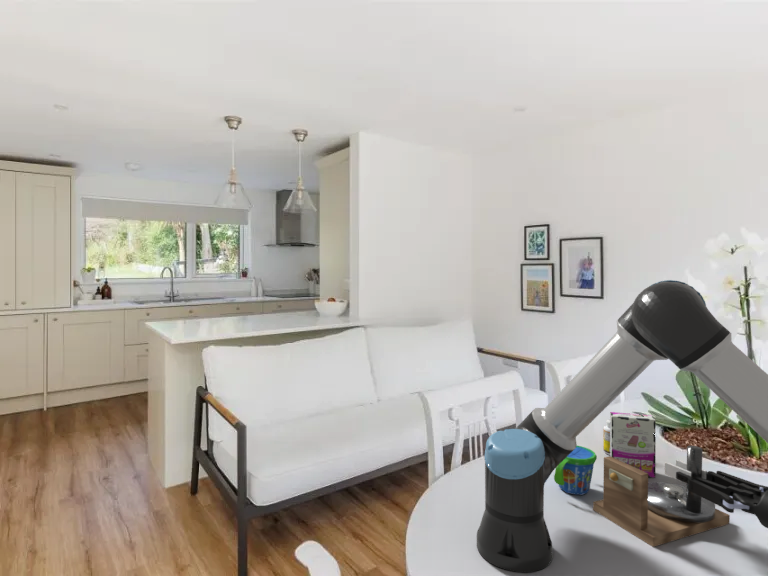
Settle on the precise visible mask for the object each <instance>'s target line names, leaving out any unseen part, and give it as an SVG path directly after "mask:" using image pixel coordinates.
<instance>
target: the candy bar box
mask: <svg viewBox="0 0 768 576" xmlns="http://www.w3.org/2000/svg"><path fill="white" fill-rule="evenodd" d="M639 414H640V413H628V412H627V413H626V412H615V411H610V413H609V418H610V419H609V420H610V455H609V456H611V457H613V458H615V459H618V460H620V461H622V462H624V463H626V464H628V465H631V466H633V467H635V468H637V469H639V470H642V471H644V472H646V473H648V478H656V466H657V465H656V444H657V443H656V441H657V440H656V439H657V438H656V437H657V436H656V437H655V435H654V434H655V433H656V428H657V427H656V425H657V424H656V419H655V417H654V416H653V415H651V414H642V415H643V416H644V417H642V416H641V415H639ZM653 433H654V434H653Z"/></svg>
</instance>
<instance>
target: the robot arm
mask: <svg viewBox="0 0 768 576" xmlns="http://www.w3.org/2000/svg"><path fill="white" fill-rule="evenodd" d="M616 326H617V327H616V329H617V331H616V333H615V334H613V335H612V337H611V338H609V340H608V341H607V342H606V343H605V344H604V345H603V346H602V347H600V349H599V350H598V351H597V352H596V353H595V354H594V355H593V356H592V358H591V359H590V360H589V361H588V362H587V363H586V364H585V365H584V366H583V367H582V368H581V369H580V370H579V372H577V374H576V375H575V376H573V378H572V379H571V380H570V381H569V382H568V383H567V384H566V385H565V386H564V387H563V388H562V389H561V391H559V393H557V394H556V396H555V397H553V398H552V400H551V401H550V402H549V403H548V404H547V405H546V406H545V407H535V408H533V410H532V411H531V412H530V413H529V414H528V415H527V416H525V418H524V419H523V420H522V421H521V422H520V423H519V424H518V425H517V426H516V427H515V428H506V429H504V430H498V431H495V432H494V433H492V434H490V436H488V438H487V440H486V443H485V451H484V485H485V486H484V489H485V490H484V499H485V501H484V502H485V505H484V507H485V508H484V511H483V515H482V517H481V521H480V525H479V527H478V529H477V532H476V549H477V551H478V552H479V554H480V556H481V557H482V558H483V559H485V560H486V561H487V562H489V563H490V564H492V565H494V566H495V567H498V568H501V569H504V570H506V571H510V572H517V573H533V572H537V571H541V570H543V569H544V568H547V567H548V566H549V565H550V564H551V563H552V561H553V542H552V539H551V536H550V532H549V530H548V525H547V523H546V520H545V517H544V507H545V506H544V503H545V502H544V501H545V497H544V496H545V494H544V493H545V488H544V487H545V483H546V482H547V481H548V479H549V478H550V476H551V475H552V473H553V471H554V470H556V467H557V466H558V465H559V464H560V463H561V462H562V461H563V460H564V459H565V458H566V457H567V456H568V455H569V454H570V453H571V452H572V451H573V450H574V449H575V448H576V446H578V445H577V444H578V443H577V438H576V437H577V436H579V435H580V433H582V432H583V431H584V430H585V429H586V428H587V426H589V425H590V424H591V423H592V422H593V421H594V420H595V419H596V418H597V417H598V416H599V415H601V413H602V412H604V410H605V409H607V408H608V406H609V405H610V404H612V402H614V400H615V399H616V398H617V397H618V396H619V395H620V394H622V393H623V392H624V391H625V390H626V389H627V388H628V387H629V385H630V384H632V383H633V382H634V381H635V380H636V379H637V378H638V377H639V376H640V375H641V374H642V373H643V372H644V371H646V369H647V368H648V367H649V366H650V365H651V364H652V363H653V362H654V361H667V360H670V362H672V364H674V365H675V366H676V367H677V368H678V369H679V370H680V371H686V372H690V373H693V375H695V376H696V377H697V379H699V380H700V381H701V382H702V383H703V384H704V385H705V386H706V387H707V388H708V389H710V390H711V392H713V394H715V395H716V397H718V398H719V399H720V400H721V401H722V402H724V404H726V406H728V407H729V408H730V409H731V410H732V411H733V412H734V413H735V414H736V415H737V416H738V417H739V418H740V419H742V420H743V421H744V422H745V423H746V424H747V425H748V426H749V427H750V428H751V429H752V430H753V431H754V432H755V433H756V434H758V435H759V437H761V439H762V440H764V441H765V442H766V443H767V444H768V373H767V372H766V371H764V369H762V368H761V367H760V366H759V365H758V364H757V363H755V362H754V361H753V360H752V359H751V358H750V357H748V355H746V353H744V352H743V351H742V350H741V349H740V348H739V347H738V346H737V345H735V344H734V343H733V341H732V332H731V331H729V329H727V328H726V327H725V326H724V325H723V324H722V323H721V322H719V320H718V319H716V317H715V316H714V315H713V313H712V312H710V310H709V309H708V307H707V304H706V301H705V299H704V297H703V296H702V294H701V293H700V292H699V291H698V290H697V289H695V287H693V286H691V285H690V284H688V283H686V282H683V281H680V280H672V279H668V280H660V281H658V282H655V283H653V284H651V285H649V286H647V287H646V288H644V289H643V290H642V291H641V292H639V294H638V295H637V296H636V297H635V299H634V301H633V303H632V304H631V305H630V306H629V307H628V308H626V310H625V311H624V313H622V314H621V316H620V317H619V318H618V319H617V320H616ZM664 475H666V476H667V477H671V478H672V479H675V480H677V481H679V482H682V483H684V484H688V490H689V491H691V492H693V493H695V494H697V495H699V496H701V497H703V498H705V499H707V500H709V501H711V502H713V503H714V504H715V505H716V506H719V507H721V508H722V509H723V510H725V511H726V512H727V513H732V514H734V512H735V511H734V510H741V511H743V512H744V513H747V514H751V515H754V516H756V517H757V518H756V519H758V522H759V523H760V524H761V525H762V526H763V527H764V528H766V529H768V486H766V485H763V484H758V483H755V482H753V481H750V480H746V479H743V478H741V477H739V476H735V475H733V474H729V473H726V472H724V471H721V470H717V471H716V472H714V471H711V470H708V471H707V470H705V469H703V468H702V478H700V477H697V476H696V472H690V471H688V470H687V462H686V461H682V460H680V459H676V460H675V464H673V463H671V462H668V461H666V462H664Z"/></svg>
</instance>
